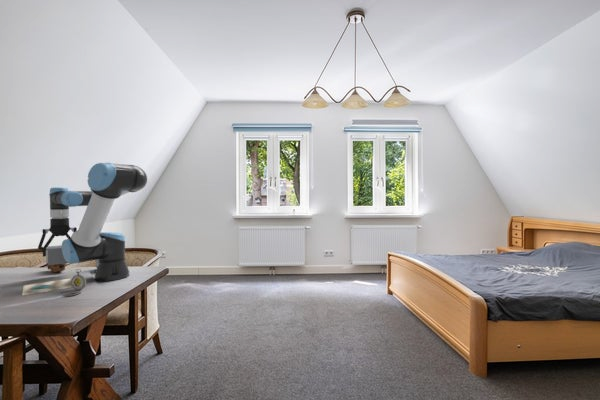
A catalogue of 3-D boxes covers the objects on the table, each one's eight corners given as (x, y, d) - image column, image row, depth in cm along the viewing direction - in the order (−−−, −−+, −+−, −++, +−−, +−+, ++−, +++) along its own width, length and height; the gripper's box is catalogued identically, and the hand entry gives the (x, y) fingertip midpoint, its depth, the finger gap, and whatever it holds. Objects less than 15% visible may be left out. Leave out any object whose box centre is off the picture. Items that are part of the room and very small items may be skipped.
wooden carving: (42, 271, 170) (42, 253, 170) (52, 269, 175) (51, 252, 174) (61, 274, 164) (60, 255, 164) (70, 272, 168) (70, 254, 168)
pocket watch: (60, 298, 125) (59, 273, 125) (64, 292, 133) (64, 269, 132) (84, 294, 129) (83, 271, 129) (87, 289, 136) (87, 267, 136)
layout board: (82, 278, 155) (82, 276, 155) (86, 286, 140) (86, 284, 140) (23, 287, 140) (23, 285, 140) (22, 297, 126) (22, 295, 126)
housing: (72, 259, 163) (71, 244, 162) (73, 262, 155) (73, 246, 155) (47, 262, 156) (47, 246, 156) (48, 265, 148) (47, 249, 148)
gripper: (85, 216, 165) (86, 257, 166) (30, 218, 150) (31, 263, 151) (87, 216, 159) (88, 259, 160) (29, 219, 145) (30, 266, 145)
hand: (60, 261), depth 155 cm, fingers closed on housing, 10 cm apart
